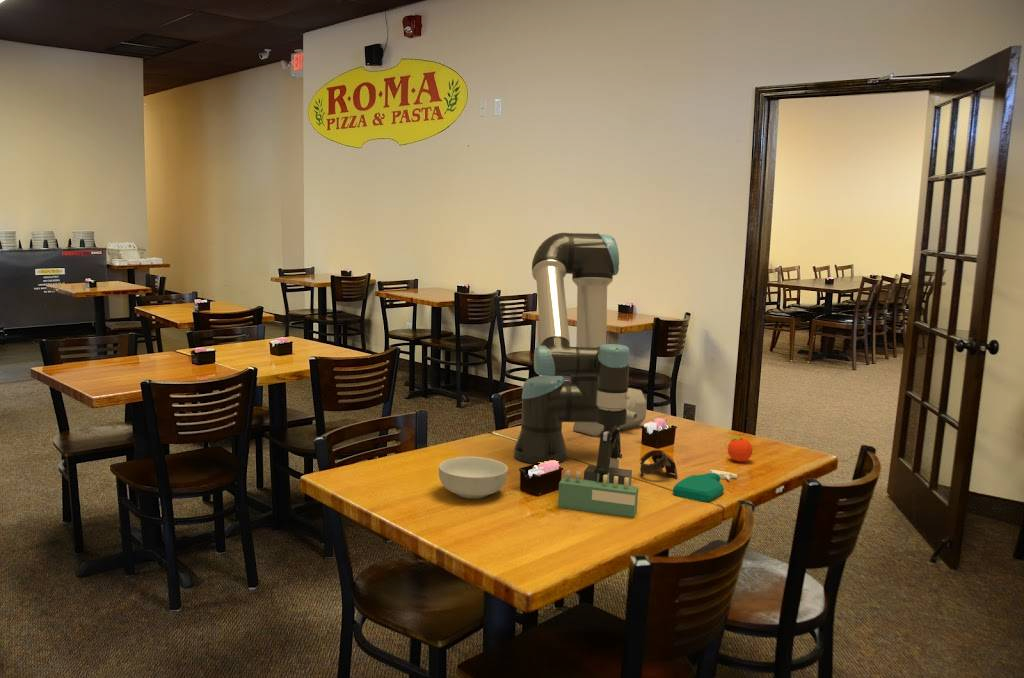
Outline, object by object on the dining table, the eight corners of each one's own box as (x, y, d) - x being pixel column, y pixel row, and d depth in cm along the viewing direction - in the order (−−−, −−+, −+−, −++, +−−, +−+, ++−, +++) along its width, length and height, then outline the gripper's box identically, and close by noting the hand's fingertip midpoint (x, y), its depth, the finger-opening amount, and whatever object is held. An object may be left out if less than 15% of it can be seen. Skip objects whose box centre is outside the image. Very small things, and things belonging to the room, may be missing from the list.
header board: (557, 507, 190) (559, 472, 188) (562, 501, 194) (564, 467, 193) (633, 518, 184) (635, 482, 183) (636, 511, 189) (639, 476, 188)
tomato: (721, 462, 232) (723, 438, 231) (724, 456, 238) (726, 432, 237) (750, 466, 229) (752, 442, 228) (752, 460, 235) (754, 436, 234)
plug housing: (583, 494, 200) (584, 471, 199) (587, 487, 205) (588, 464, 204) (627, 500, 196) (628, 476, 195) (630, 493, 202) (632, 470, 201)
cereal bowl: (454, 509, 186) (455, 479, 185) (427, 487, 201) (428, 460, 200) (518, 499, 194) (519, 471, 193) (488, 479, 209) (489, 453, 208)
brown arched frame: (682, 484, 212) (670, 459, 209) (649, 496, 214) (637, 472, 211) (676, 460, 223) (665, 436, 220) (644, 472, 225) (633, 448, 222)
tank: (610, 442, 250) (612, 402, 248) (571, 431, 261) (573, 393, 259) (657, 429, 267) (659, 393, 266) (618, 420, 279) (620, 385, 277)
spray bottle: (668, 496, 202) (703, 474, 222) (710, 505, 196) (742, 482, 216) (669, 484, 201) (704, 464, 222) (711, 493, 195) (743, 471, 216)
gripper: (617, 419, 185) (613, 508, 187) (634, 399, 208) (630, 478, 211) (585, 416, 187) (581, 504, 189) (606, 396, 210) (602, 475, 213)
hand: (607, 491), depth 200 cm, fingers open, 13 cm apart
